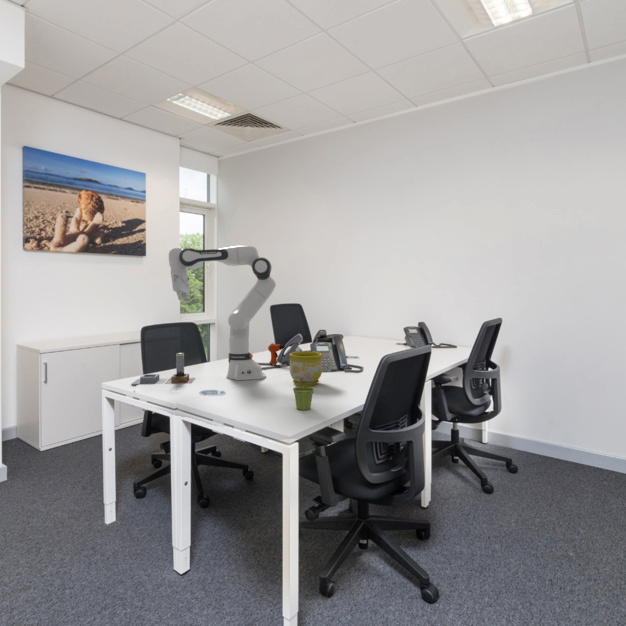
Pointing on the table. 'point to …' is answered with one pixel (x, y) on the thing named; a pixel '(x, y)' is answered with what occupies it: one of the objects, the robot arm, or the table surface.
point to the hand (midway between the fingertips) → (183, 300)
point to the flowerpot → (306, 367)
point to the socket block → (180, 379)
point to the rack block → (149, 379)
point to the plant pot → (303, 397)
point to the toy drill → (274, 352)
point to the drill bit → (180, 364)
